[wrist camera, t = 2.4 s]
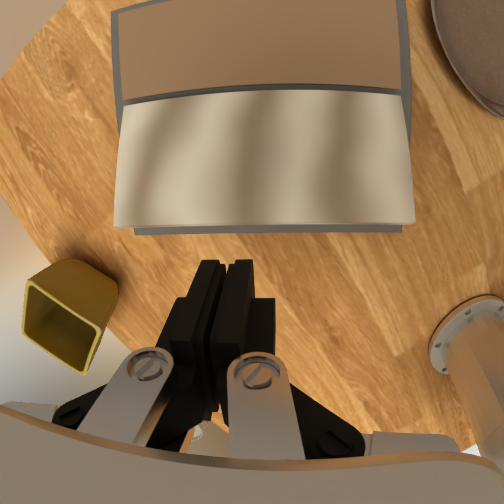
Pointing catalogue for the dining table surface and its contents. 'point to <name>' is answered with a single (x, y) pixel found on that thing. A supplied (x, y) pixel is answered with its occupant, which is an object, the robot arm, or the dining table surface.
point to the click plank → (264, 160)
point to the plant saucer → (474, 46)
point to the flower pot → (68, 311)
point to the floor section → (260, 61)
